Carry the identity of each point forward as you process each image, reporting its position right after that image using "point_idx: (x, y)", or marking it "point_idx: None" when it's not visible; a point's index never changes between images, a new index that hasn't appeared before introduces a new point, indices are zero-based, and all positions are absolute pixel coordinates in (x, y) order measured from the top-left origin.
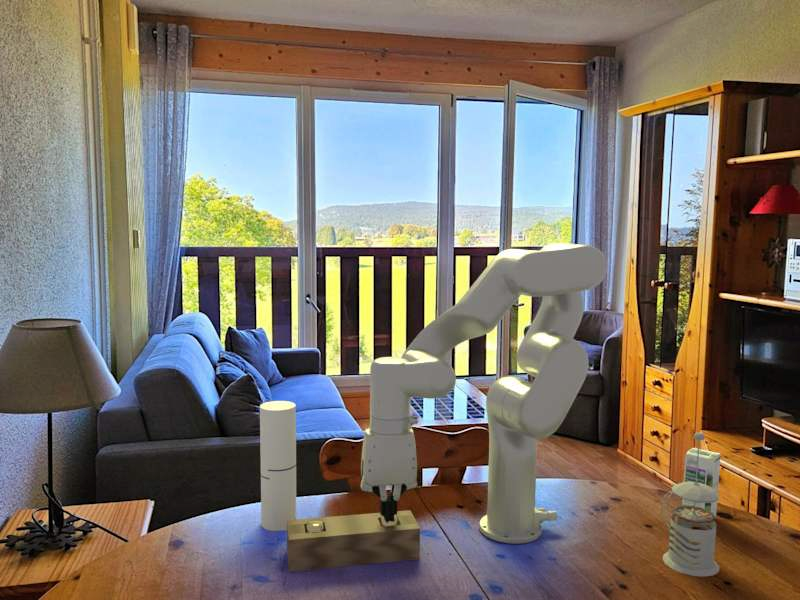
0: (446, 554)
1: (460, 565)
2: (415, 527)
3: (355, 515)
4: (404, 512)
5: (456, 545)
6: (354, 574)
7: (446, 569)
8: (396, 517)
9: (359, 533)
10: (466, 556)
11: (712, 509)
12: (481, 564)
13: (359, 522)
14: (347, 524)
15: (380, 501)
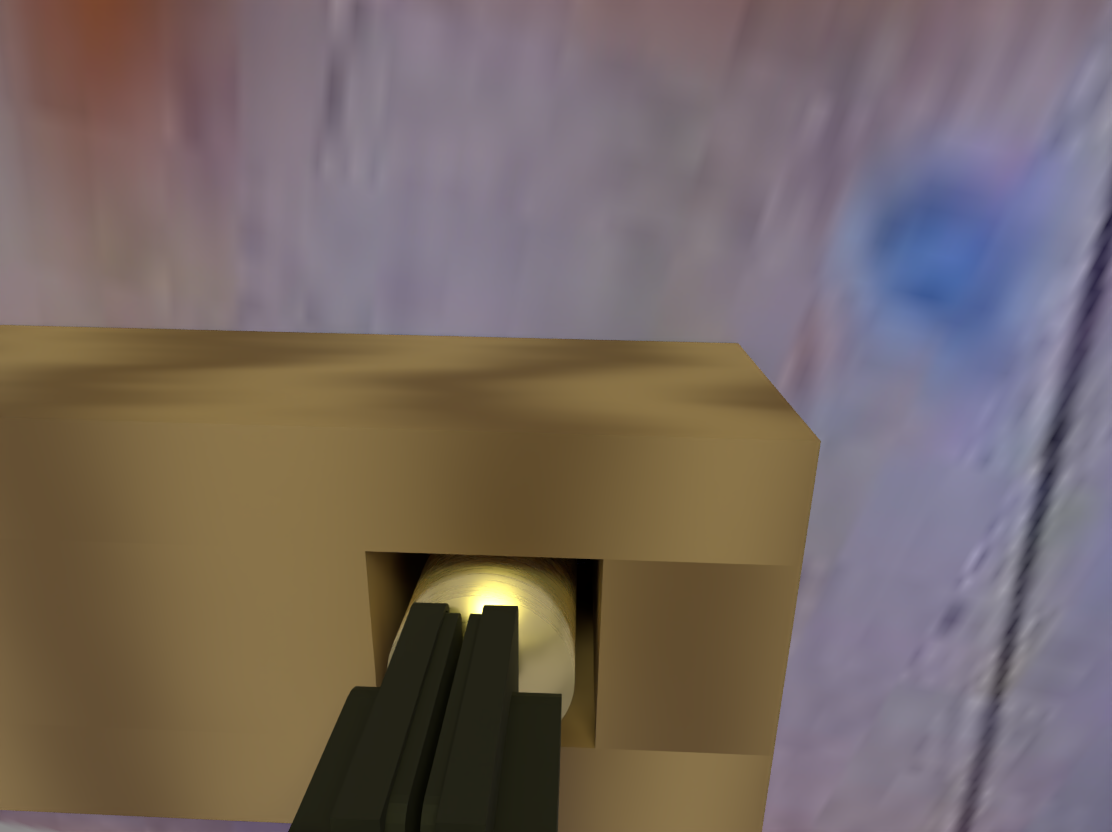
0: (921, 620)
1: (941, 757)
2: (721, 822)
3: (96, 440)
4: (723, 486)
5: (1067, 517)
6: None
7: (831, 777)
8: (566, 683)
9: (155, 816)
10: (1045, 671)
11: None
12: (1081, 773)
13: (150, 616)
14: (20, 632)
15: (300, 824)
